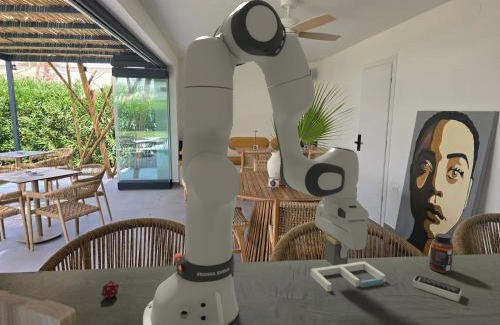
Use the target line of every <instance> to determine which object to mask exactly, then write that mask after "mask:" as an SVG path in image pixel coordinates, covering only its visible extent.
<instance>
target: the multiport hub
mask: <svg viewBox="0 0 500 325" xmlns="http://www.w3.org/2000/svg"><path fill="white" fill-rule="evenodd" d="M412 287H413V288H416V289H418V290H421V291H424V292H427V293H430V294H433V295H436V296H439V297H442V298H444V299H447V300H449V301H452V302H453V301H454V302H457V303H459V302H460V300H461V298H462V291H463V290H462V288H461V287H457V286H454V285H451V284H448V283H444V282H441V281H438V280H435V279H432V278H428V277H426V276H422V275H419V274H417V275H416V276H415V277H414V278H413V280H412Z"/></svg>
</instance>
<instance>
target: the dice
mask: <svg viewBox="0 0 500 325" xmlns="http://www.w3.org/2000/svg"><path fill="white" fill-rule="evenodd" d="M118 290H119V284H117V283H115V282H113V281H112V280H109V281H108V282H107V283H106V284H104V285H103V287H102V292H101V296H103V297H104V298H106V299H109V300H110V299H112V298H113V297H114V296H116V295H117V294H118Z"/></svg>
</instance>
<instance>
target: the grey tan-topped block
mask: <svg viewBox="0 0 500 325" xmlns="http://www.w3.org/2000/svg"><path fill="white" fill-rule="evenodd" d="M341 248H342V246H341V242H340V241H338V240H337V239H335V238H333V237H332V236H327V239H326V238H325V250H324V259H325V260H326V261H327V262H328V263H329V264H331V266H335V265H342V264H348V260H349V258H348V257H349V250H348V251H347V257H346V258H341V257H340V256H339V255H338V253H339V252H338V251H339V250H341Z"/></svg>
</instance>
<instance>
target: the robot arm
mask: <svg viewBox="0 0 500 325" xmlns="http://www.w3.org/2000/svg"><path fill="white" fill-rule="evenodd" d="M185 54H186V55H185V61H184V66H183V67H184V70H183V82H182V84H183V86H182V87H183V88H182V90H183V93H182V94H183V98H182V99H183V100H182V102H183V108H182V109H183V131H182V132H183V133H182V150H181V151H182V152H181V177H182V179H183V182H184V183H185V186H186V187H185V189H186V206H185V209H186V210H185V211H186V212H185V222H184V238H185V239H184V242H185V243H184V244H185V248H184V249H185V250H184V251H185V254H184V255H182V253H181V252H177V253H175V254H174V256H173V261H174V263H176V272H174V273H173V274H172V275H170V276H169V277H168V278H167V279H165V280H164V281H163V282H161V283H160V284H159V285H158V286H157V289H156V290H155V293H154V296H153V299H152V300H151V301H150V302H149V303H148V304H147V305H146V307H145V309H144V311H143V314H142V325H229V324H230V323H231V322H233V321H234V320H235V319H236V318H237V316H238V314H239V310H240V308H239V304H238V301H237V300H238V299H237V296H236V293H235V292H236V291H235V286H234V285H235V283H234V276H235V254H234V253H233V221H234V215H235V210H236V209H235V208H236V206H237V198H238V197H237V196H238V194H239V192H240V188H241V177H240V173H239V171H238V169H237V167H236V165H235V163H234V162H232V160H230V158H228V150H229V144H230V138H231V133H232V129H233V126H234V73H235V69H236V67H239V66H242V65H245V64H246V63H250V62H254V64H255V63H256V64H257V65H258V67H259V68H260V70H261V72H262V73H263V75H264V79H265V80H264V81H265V84H266V88H267V91H268V95H269V99H270V103H271V109H272V117H273V126H274V130H275V135H276V137H275V138H276V141H277V145H278V151H279V155H280V156H279V158H280V164H279V177H280V181H281V183H282V185H284V186H285V187H286V189H289V190H292V191H297V192H300V193H302V194H305V195H309V196H311V197H314V198H321V200H319V201H318V202H319V203H318V205H317V207H316V211H315V212H316V213H315V218H314V219H315V220H314V223H315V227H317V228H318V229H319V230H321V231H323V232H324V236H325V240H326V239H327V236H332V237H333V238H335V239H337V240H338V241H340V242H341V246H342V248H341V250H339V251H338V252H339V253H338V255H339V256H340V257H341V258H346V257H347V251H348V252H349V250H352V251H359V250H363V249H365V248H366V246H367V241H368V223H367V221H366V220H368V219H369V215H370V214H369V211H368V210H367V209H366V208H365V207H364V206H362V204H361V203H360V202H359V200H357V199H358V194H357V185H358V183H359V171H360V169H359V168H360V167H359V166H360V165H359V157H358V154H357V152H356V151H355V150H353V149H349V148H346V147H345V148H344V147H339V146H337V147H336V146H332V147H330V148H329V149H328V150H327V151H326V152H325V153H323V154H322V155H320V156H317V157H315V158H313V159H312V158H308V157H306V155H305V154H304V152H303V151H302V145H301V141H300V136H299V128H298V126H299V122H300V119H301V118H302V117H304V115H306V114H307V112H308V111H310V109H311V108H312V106H313V104H314V102H315V98H316V97H315V85H314V80H313V77H312V73H311V70H310V65H309V62H308V59H307V56H306V54H305V52H304V49H303V47H302V45H301V43H300V40H299V39H298V37H296V35H293V34H292V33H287V29H286V26H285V25H284V24H283V23H282V19H281V17H280V16H279V14H278V12H277V11H276V9H275V8H274V6H272V4H270V3H269V2H267V1H265V0H248V1H246V2H243V3H242V4H240V5H239V6H238V7H237V8H236V9H235V10H234V11H232V12H231V13H230V14H228V15H227V16H226V18H224V20H223V21H222V23H221V24H220V25H219V26H218V27H217V29H216V31H215V32H214V34H213V36H201V37H200V36H199V37H198V38H196V39H193V40H192V41H191V42H190V43H189V45H188V46H187V50H186V53H185ZM322 197H323V198H322Z"/></svg>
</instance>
